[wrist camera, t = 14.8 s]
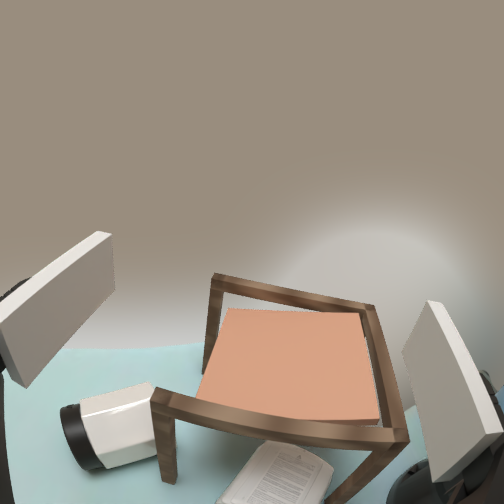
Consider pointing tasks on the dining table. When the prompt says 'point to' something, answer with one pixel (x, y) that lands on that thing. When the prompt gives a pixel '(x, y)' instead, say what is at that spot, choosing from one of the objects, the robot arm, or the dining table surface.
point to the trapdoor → (293, 366)
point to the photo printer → (280, 477)
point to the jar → (111, 427)
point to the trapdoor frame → (281, 428)
